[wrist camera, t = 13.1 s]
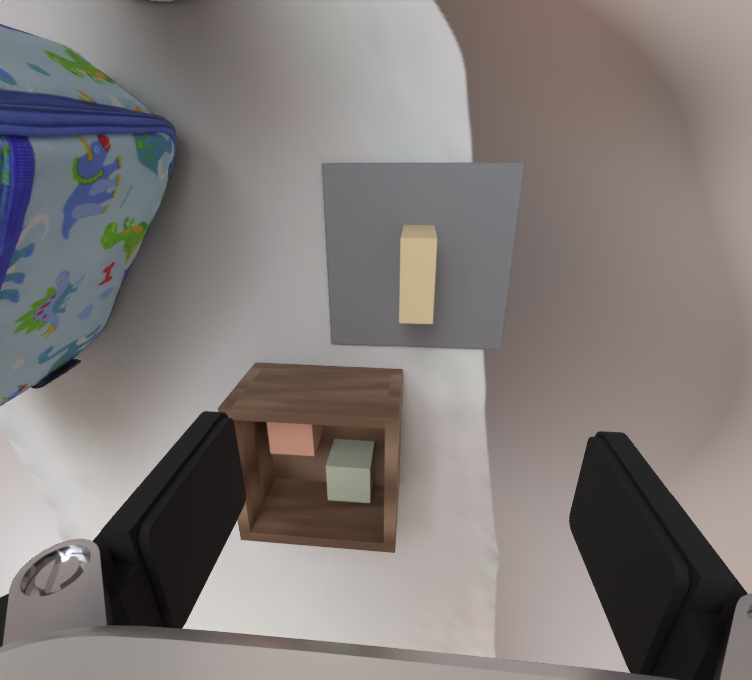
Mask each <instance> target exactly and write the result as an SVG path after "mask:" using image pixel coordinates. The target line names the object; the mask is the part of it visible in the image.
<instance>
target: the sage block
mask: <svg viewBox="0 0 752 680" xmlns="http://www.w3.org/2000/svg"><path fill="white" fill-rule="evenodd" d="M374 474H375V441H363V440H346V439H334V441H333V444H332V447H331V451H330V454H329V457H328V460H327V464H326V479H327V496H328V500H333V501H347V502H360V503H370V501H371V494H372V488H373V481H374Z"/></svg>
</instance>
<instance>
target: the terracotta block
mask: <svg viewBox="0 0 752 680" xmlns="http://www.w3.org/2000/svg"><path fill="white" fill-rule="evenodd" d="M267 429H268V437H269V446H270V453H271V454H287V455H302V456H314V455H315V453H316V450H317V447H318V444H319V441H320V439H321V436H322V433H323V430H324V427H323V425H310V424H293V423H275V422H267Z"/></svg>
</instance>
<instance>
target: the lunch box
mask: <svg viewBox="0 0 752 680" xmlns="http://www.w3.org/2000/svg"><path fill="white" fill-rule="evenodd" d="M176 148H177V142H176V132H175V129H174V127H173V125H172V124H171V123H170V122H168V121H167V120H166V119H165V118H163V117H160V116H158V115H153V114H152V113H151V112H150V111H149V110H148V109H147V108H146V107H145V106H144V105H143V104H142V103H141V102H139V101H138V100H137V99H136V98H134V97H133V96H132V95H131V94H129V93H128V92H127V91H125V90H124V89H123V88H122V87H120V86H119V85H118V84H117V83H115V82H114V81H113V80H112V79H110V78H109V77H108V76H106V75H105V74H104V73H102V72H101V71H100V70H98V69H96V68H95V67H93V66H92V65H91V64H90V63H89V62H88V61H87V60H85V59H84V58H83V57H82V56H80V55H79V54H78V53H76V52H75V51H74V50H72V49H70V48H68V47H66V46H64V45H61V44H59V43H56V42H53V41H50V40H47V39H44V38H41V37H38V36H35V35H32V34H30V33H26V32H23V31H20V30H17V29H14V28H11V27H8V26H5V25H1V24H0V406H1V405H3V404H5V403H6V402H8V401H9V400H11V399H13V398H14V397H16V396H18V395H19V394H21V393H22V392H24V391H26V390H27V389H29V388H30V387H31V388H36V389H37V388H41V387H43V386H45V385H47V384H48V383H50V382H51V381H53V380H55V379H56V378H58V377H59V376H61V375H63V374H64V373H66V372H67V371H69V370H70V369H72V368H73V367H75V366H76V365H77V364H79V363H80V362H81V360H78V359H74V358H75V357H76V356H77V355H78V354H79V353H81V352H82V351H83V350H84V349H85V348H86V347H87V345H88V344H89V343H90V342H91V341H92V340H93V339H94V338H95V337H96V336H98V334H99V333H100V332H101V331H102V329H103V328H104V326H105V324H106V323H107V321H108V318H109V316H110V313H111V311H112V308H113V305H114V302H115V299H116V296H117V294H118V292H119V290H120V287H121V285H122V283H123V280H124V278H125V276H126V273H127V271H128V269H129V267H130V264H131V263H132V261H133V260H134V258H135V256H136V255H137V253H138V251H139V249H140V246H141V243H142V241H143V238H144V236H145V234H146V232H147V230H148V228H149V226H150V224H151V222H152V220H153V218H154V216H155V214H156V212H157V210H158V208H159V206H160V203H161V201H162V199H163V196H164V193H165V190H166V186H167V184H168V181H169V178H170V175H171V172H172V169H173V166H174V162H175V157H176Z"/></svg>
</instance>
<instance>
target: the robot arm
mask: <svg viewBox="0 0 752 680" xmlns="http://www.w3.org/2000/svg"><path fill="white" fill-rule="evenodd" d="M151 1H174V0H151ZM245 500H246V491H245V485H244V479H243V473H242V467H241V461H240V455H239V449H238V443H237V437H236V431H235V425H234V421H233V419H232V418H228V415H227V414H226V413H225V412H208V411H205V412H202V413H201V414H200V415H199V417H198V418H197V419H196V420H195V421H194V422H193V424H192V425H191V426H190V427H189V428H188V429H187V431H186V432H185V433H184V434H183V435H182V436H181V438H180V439H179V440H178V441H177V442H176V443H175V445H174V446H173V447H172V448H171V449H170V450H169V452H168V453H167V454H166V455H165V456H164V457H163V459H162V460H161V461H160V462H159V463H158V464H157V466H156V467H155V468H154V469H153V470H152V471H151V473H150V474H149V475H148V476H147V477H146V478H145V480H144V481H143V482H142V483H141V484H140V485H139V487H138V488H137V489H136V490H135V491H134V492H133V494H132V495H131V496H130V497H129V498H128V499H127V501H126V502H125V503H124V504H123V505H122V506H121V508H120V509H119V510H118V511H117V512H116V514H115V515H114V516H113V517H112V518H111V519H110V521H109V522H108V523H107V524H106V525H105V526H104V528H103V529H102V530H101V532H100V533H99V534H98V536H97V537H96V538H95V539H94V540H93V541H91V540H86V539H75V540H68V541H65V542H62V543H59V544H56V545H54V546H52V547H50V548H48V549H46V550H44V551H42V552H41V553H39V554H38V555H37V556H35V557H34V558H32V559H31V560H30V561H29V562H28V563H26V565H24V566H23V567H22V568H21V569H20V571H19V572H18V574H17V575H16V576H15V578H14V579H13V581H12V584H11V587H10V590H9V594H7V595H5V596H3V597H1V598H0V680H752V594H747V592H746V591H745V590H744V588H743V587H742V586H741V584H740V583H739V582H738V580H737V579H736V578H735V577H734V575H733V574H732V573H731V571H730V570H729V569H728V567H727V566H726V565H725V563H724V562H723V561H722V559H721V558H720V557H719V555H718V554H717V553H716V551H715V550H714V549H713V548H712V546H711V545H710V544H709V542H708V541H707V540H706V538H705V537H704V536H703V534H702V533H701V532H700V531H699V529H698V528H697V526H696V525H695V524H694V523H693V521H692V520H691V519H690V517H689V516H688V515H687V513H686V512H685V511H684V509H683V508H682V507H681V505H680V504H679V503H678V502H677V500H676V499H675V498H674V496H673V495H672V494H671V493H670V492H669V491H668V489H667V488H666V487H665V486H664V484H663V483H662V481H661V480H660V479H659V477H658V476H657V475H656V473H655V472H654V471H653V469H652V468H651V467H650V465H649V464H648V463H647V462H646V460H645V459H644V458H643V456H642V455H641V454H640V452H639V451H638V450H637V448H636V447H635V446H634V444H633V443H632V442H631V441H630V439H629V438H628V436H627V435H626V434H625V433H621V432H601V431H600V432H598V433H597V434H596V435H595V437H590V438H589V439H588V442H587V446H586V450H585V454H584V459H583V463H582V466H581V471H580V475H579V479H578V483H577V487H576V491H575V495H574V499H573V503H572V507H571V511H570V517H569V519H570V520H569V522H570V529H571V531H572V534H573V536H574V539H575V541H576V544H577V546H578V549H579V551H580V553H581V556H582V558H583V561H584V563H585V565H586V568H587V570H588V573H589V575H590V578H591V580H592V583H593V585H594V587H595V590H596V592H597V595H598V597H599V599H600V602H601V604H602V606H603V609H604V612H605V614H606V616H607V619H608V621H609V623H610V626H611V629H612V631H613V633H614V636H615V638H616V641H617V643H618V645H619V648H620V650H621V653H622V655H623V657H624V660H625V662H626V665H627V667H628V669H629V671H630V672H631V673H625V672H616V671H608V670H600V669H591V668H583V667H574V666H564V665H554V664H544V663H535V662H525V661H516V660H506V659H497V658H487V657H478V656H468V655H458V654H448V653H438V652H428V651H418V650H408V649H398V648H388V647H377V646H367V645H357V644H346V643H336V642H326V641H315V640H304V639H294V638H283V637H272V636H261V635H250V634H239V633H228V632H218V631H205V630H191V629H182V628H183V626H184V625H185V623H186V621H187V619H188V617H189V615H190V613H191V611H192V609H193V607H194V605H195V603H196V601H197V599H198V597H199V595H200V593H201V591H202V589H203V587H204V585H205V583H206V581H207V579H208V577H209V575H210V573H211V571H212V569H213V567H214V565H215V563H216V561H217V559H218V557H219V555H220V553H221V551H222V549H223V547H224V545H225V543H226V541H227V539H228V537H229V535H230V533H231V531H232V529H233V527H234V526H235V524H236V522H237V520H238V518H239V516H240V514H241V512H242V510H243V507H244V505H245Z"/></svg>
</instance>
